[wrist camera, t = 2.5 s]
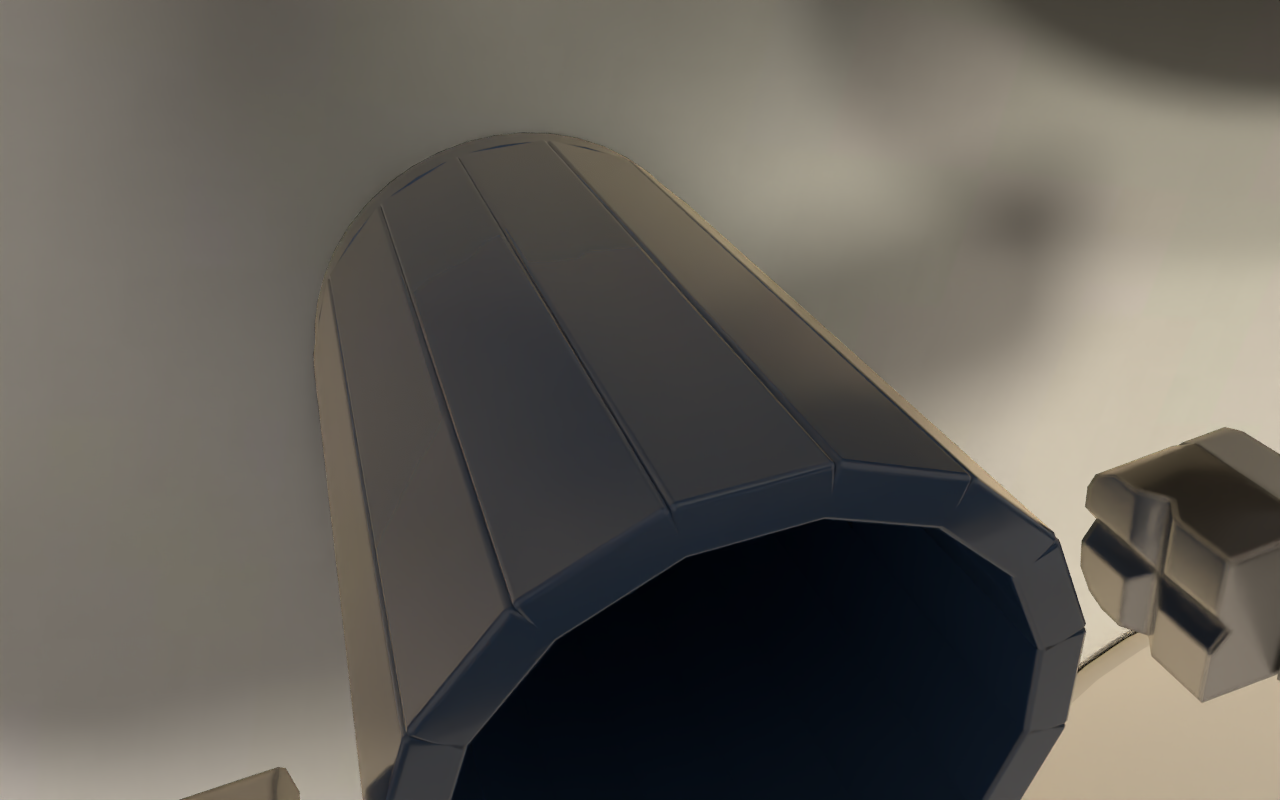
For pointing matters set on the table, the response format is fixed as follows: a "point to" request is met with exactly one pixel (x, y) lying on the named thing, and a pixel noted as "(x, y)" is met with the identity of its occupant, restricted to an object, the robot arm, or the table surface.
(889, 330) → the table surface
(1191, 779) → the mug
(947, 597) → the cup
